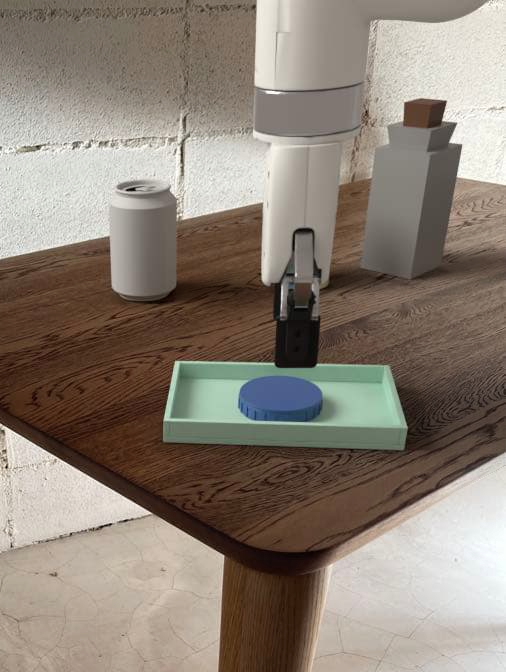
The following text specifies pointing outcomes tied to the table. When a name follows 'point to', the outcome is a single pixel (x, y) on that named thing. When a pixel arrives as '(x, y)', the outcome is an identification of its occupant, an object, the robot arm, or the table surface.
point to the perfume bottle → (411, 192)
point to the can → (143, 239)
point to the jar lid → (280, 399)
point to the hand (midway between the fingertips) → (293, 341)
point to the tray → (323, 432)
